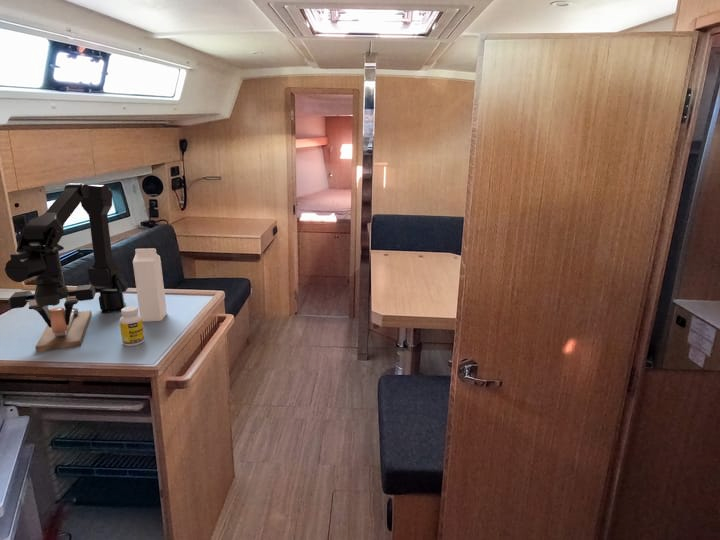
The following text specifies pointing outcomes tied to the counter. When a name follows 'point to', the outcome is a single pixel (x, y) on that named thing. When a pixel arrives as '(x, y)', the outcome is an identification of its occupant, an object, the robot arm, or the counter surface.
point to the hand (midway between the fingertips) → (59, 325)
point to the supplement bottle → (131, 326)
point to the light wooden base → (71, 337)
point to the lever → (60, 320)
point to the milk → (149, 284)
